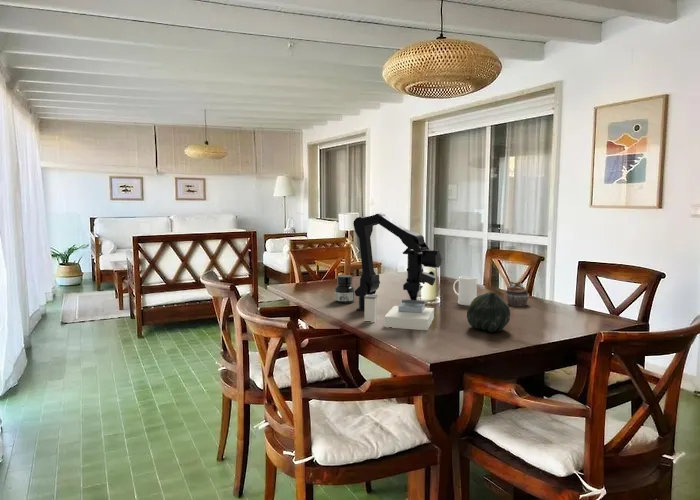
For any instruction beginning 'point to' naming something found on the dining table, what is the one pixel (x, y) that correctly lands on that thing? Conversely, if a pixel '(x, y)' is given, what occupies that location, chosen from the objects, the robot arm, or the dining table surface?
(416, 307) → the panel
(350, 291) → the ink bottle
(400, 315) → the socket block
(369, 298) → the peg
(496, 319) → the squash
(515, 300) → the cupcake
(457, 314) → the dining table surface
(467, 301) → the mug
